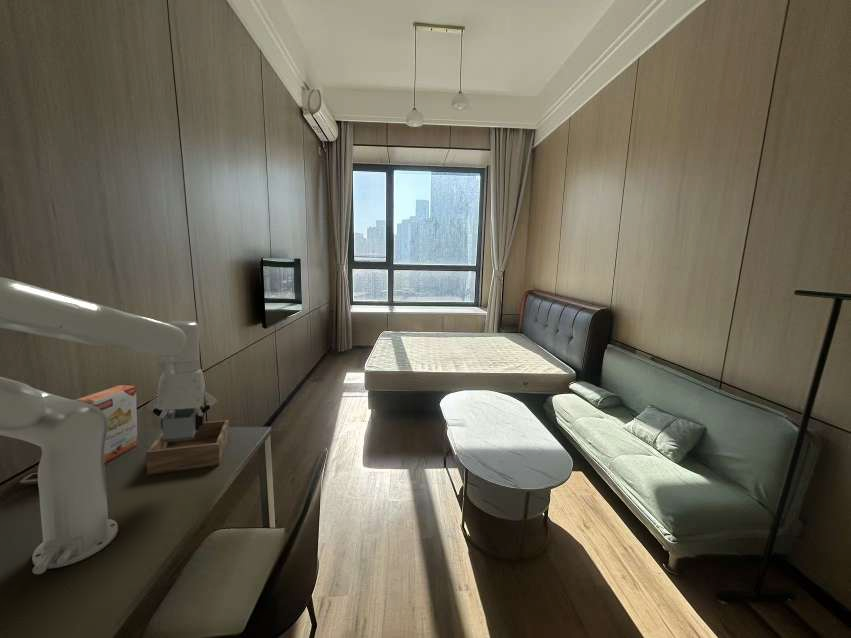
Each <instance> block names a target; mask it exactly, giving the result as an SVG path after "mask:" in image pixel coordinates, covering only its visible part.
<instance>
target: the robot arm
mask: <svg viewBox="0 0 851 638" xmlns="http://www.w3.org/2000/svg"><path fill="white" fill-rule="evenodd" d="M0 328H1V329H7V330H13V331H18V332H22V333H26V334H27V333H28V334H33V335H37V336H42V337H48V338H49V337H50V338H54V339H59V340H63V341H64V340H65V341H69V342H70V341H71V342H76V343H80V344H85V345H95V346H105V347H111V348H112V347H113V348H120V349H123V350H131V351H134V352H136V353H137V352H138V353H143V354H147V355H148V354H149V355H154V356H159V357H164V361H162V362H159V363H158V365H157V366H158V368H159V369H161V368H162V369H163V372H161V373H160V375H159V376H160V377H159V381H158V389H157V396H155V397H154V398H153V399H151V401H149V402H148V403H147V404H146V405H145V407H146V408H147V409H149V410H150V411H151V412H152V414H154V415H155V416H157V417H158V418H159V419H160V422H161V423H160V424H161V425H160V428H161V430H163V429H162V420H163V419H164V418H165V417H166V416H167V414H168V413H169V412H170V411H171V410H183V409H195V411H196V413H197V416H196V430H199V429H200V427H201V426H203V423H204V422H205V420H204V416H205V415H204V414H205V413H207V411H208V410H210V409H211V408H212V407H213V406H214V405H215V404H216V403H217V401H218V399H217V398H216V397H214V396H213V395H211V394H210V393H208V392H207V391H206V382H205V378H204V372H203V370H202V369H201V368H200V326H199V324H198V322H196V321H193V320H192V321H191V320H172V321H167V322H162V321H160V320H156V319H152V318H148V317H144V316H141V315H138V314H135V313H130V312H126V311H124V310H123V311H122V310H119V309H116V308H112V307H109V306H106V305H102V304H99V303H95V302H91V301H89V300H84V299H80V298H77V297H74V296H70V295H67V294H63V293H61V292H57V291H53V290H49V289H47V288H44V287H43V288H42V287H39V286H37V285H33V284H29V283H26V282H22V281H19V280H16V279H15V280H14V279H11V278H6V277H0ZM205 401H207V402H208V403H207V404H206V405H204V402H205ZM107 430H108V420H107V417H106V415H105V414H104V413H103V411H101V410H100V409H99V408H97V407H95V406H93V405H91V404H88V403H84V402H80V401H76V399H72V398H67V397H63V396H60V395H56V394H53V393H49V392H46V391H43V390H40V389H37V388H34V387H33V386H30V385H28V384H27V383H25V382H22V381H17V380H14V379H11V378H7V377H4V376H0V436H4V437H9V438H13V439H16V440H21V441H24V442H28V443H30V444H33V445H36V446H38V447H40V449H41V457H40V460H39V463H38V467H37V468H38V469H37V486H38V495H39V508H40V519H41V520H40V521H41V533H42V542H41V543H39V545H38V546H37V547H36V548H35V550H34V551H33V553H32V559H31V560H32V564H33V565H34V567H33V568H32V573H33V574H35V575H41V574H44V573H45V571H46V570H47V569H48V570H49V569H57V568H63V567H66V566H69V565H73V564H76V563H78V562H80V561H83V560H85V559H87V558H89V557H91V556H93V555H94V554H97V553H98V552H99V551H101V550H102V549H104V548H105V547H107V545H109V544H110V543H111V542H112V541H113V540H114V539H115V537H116V536H117V533H118V532H119V525H118V523H117V522H116V520H114V519H111V518H109V516H108V500H107V499H108V498H107V482H106V480H107V479H106V478H107V477H106V466H105V464H106V463H105V462H104V448H105V440H106V435H107Z"/></svg>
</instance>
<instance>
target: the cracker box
mask: <svg viewBox="0 0 851 638" xmlns="http://www.w3.org/2000/svg"><path fill="white" fill-rule="evenodd" d="M75 400H76V401H80V402H84V403H88V404H91V405H93V406H95V407H97V408H99V409H100V410H101V411H103V413H104V414H105V415H106V417H107V420H108V430H107V435H106V440H105V448H104V462H105V464H106V463H107V462H110V461H111V460H114V459H115V458H116V457H119V456H121V455H123V454H124V453H125V452H128V451H129V450H131V449H133V448H135V447H137V446H138V418H137V417H138V416H137V413H138V412H137V411H138V410H137V386H135V385H123V384H120V385H115V386H113V387H110V388H108V389H107V388H106V389H103V390H101V391H98V392H95V393H92V394H89V395H86V396H82V397H79V398H77V399H75Z"/></svg>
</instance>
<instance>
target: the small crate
mask: <svg viewBox="0 0 851 638" xmlns="http://www.w3.org/2000/svg"><path fill="white" fill-rule="evenodd" d="M196 416H197V413H196V411H195V409H183V410H170V411H169V413H168V414H167V416H166V417H165V418H164V419H163V420H162V429H161V430H162V432H163V442H171V441H181V440H191V439H193V438H194V437H195V435H196V433H197V432H198V430H196Z"/></svg>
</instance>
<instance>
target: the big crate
mask: <svg viewBox="0 0 851 638" xmlns="http://www.w3.org/2000/svg"><path fill="white" fill-rule="evenodd" d="M229 438H230V420H229V419H224V420H223V419H222V420H212V421H204V423H203V426H201V427H200V429H199V430H198V432H197V433H196V435H195V437H194V438H193V439H191V440H181V441H171V442H163V431H162V432H161V433H160V434H159V435H158V437H157V438H156V440H155V441H154V442H153V443H152V444H151V446H150V447H149V448H148V449H147V450H146V452H145V455H146V458H145V459H146V475H147V476H150V475H151V476H152V475H157V474H158V475H159V474H165V473H166V474H167V473H173V472H181V471H187V470H188V471H189V470H193V469H195V470H196V469H202V467H203V468H209V467H216V466H217V465H218V466H220V465H219V464H221V461H222V459H223V456H224V454H225V451H226V448H227V445H226V444H228V442H229V440H228V439H229ZM227 441H228V442H227ZM225 447H226V448H225ZM224 450H225V451H224ZM223 453H224V454H223ZM208 466H209V467H208Z"/></svg>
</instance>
